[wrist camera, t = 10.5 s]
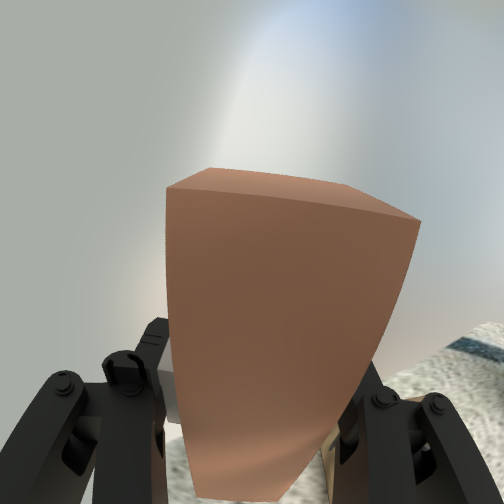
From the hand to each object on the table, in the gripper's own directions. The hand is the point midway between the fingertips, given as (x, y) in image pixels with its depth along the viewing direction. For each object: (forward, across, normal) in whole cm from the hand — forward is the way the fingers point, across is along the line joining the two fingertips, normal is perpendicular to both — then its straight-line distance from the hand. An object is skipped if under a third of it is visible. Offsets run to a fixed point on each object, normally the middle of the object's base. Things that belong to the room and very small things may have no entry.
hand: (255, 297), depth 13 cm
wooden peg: (-5, 0, -8) cm, 10 cm away
